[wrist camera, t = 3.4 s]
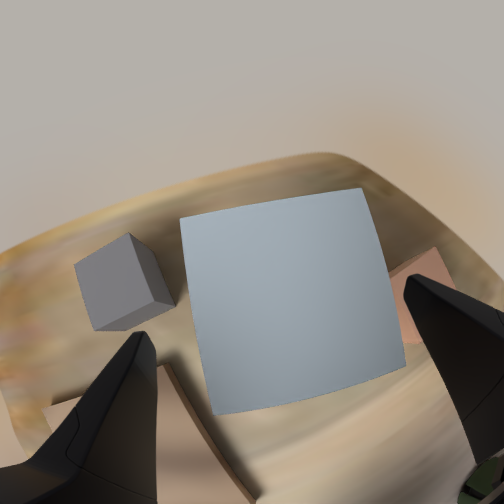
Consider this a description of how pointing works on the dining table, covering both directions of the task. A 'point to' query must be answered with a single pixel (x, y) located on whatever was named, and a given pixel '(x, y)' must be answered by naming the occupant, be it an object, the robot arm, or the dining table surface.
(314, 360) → the slate block
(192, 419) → the walnut board
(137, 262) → the charcoal block
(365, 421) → the dining table surface
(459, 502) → the character mug
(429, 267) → the terracotta block
